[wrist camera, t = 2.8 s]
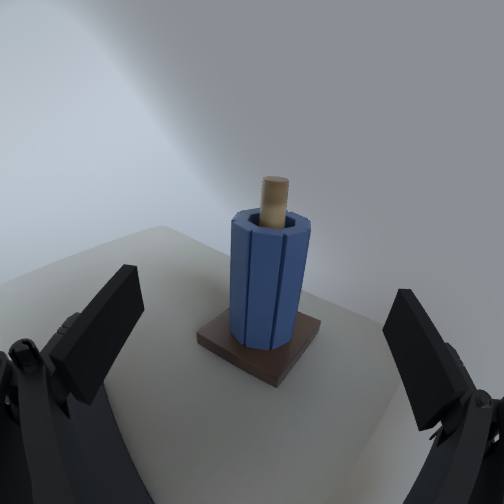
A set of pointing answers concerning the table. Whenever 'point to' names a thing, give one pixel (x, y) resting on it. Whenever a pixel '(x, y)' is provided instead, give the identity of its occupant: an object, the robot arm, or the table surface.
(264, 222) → the dowel stand
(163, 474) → the table surface
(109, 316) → the robot arm
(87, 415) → the mat
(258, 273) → the sleeve
